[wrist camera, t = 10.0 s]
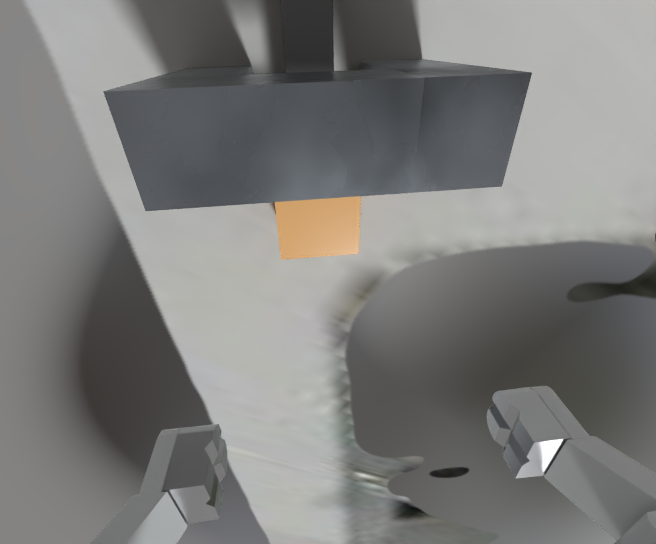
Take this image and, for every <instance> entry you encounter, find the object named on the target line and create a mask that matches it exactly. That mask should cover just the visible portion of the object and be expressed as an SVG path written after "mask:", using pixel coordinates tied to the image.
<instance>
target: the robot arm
mask: <svg viewBox="0 0 656 544" xmlns="http://www.w3.org/2000/svg"><path fill="white" fill-rule="evenodd" d="M492 400H493V401H494V403H495V404H494V405H492V406H491V407H490V408H489V409H488V412H487V424H488V427H489V430H490V433H491V434H492V436H493V438H494V440H495V441H496V442H497V443H499V444H500V445H502V446H503V447H504V448H503V457H504V459H505V460H506V462H507V464H508V466H509V467H510V470H511V471H512V473H513V475H514V477H515V478H524V477H533V476H543V475H545V476H544V478H546V479H547V480H548V481H549V482H550V483H551V484H552V485H554V486H555V487H556V488H557V489H558V490H559V491H561V492H562V493H563V494H564V495H565V496H566V497H567V498H568V499H570V500H571V501H572V502H573V503H574V504H575V505H576V506H578V507H579V508H580V509H581V510H582V511H583V512H584V513H586V514H587V515H588V516H589V517H590V518H591V519H592V520H594V521H595V522H596V523H597V524H598V525H600V527H602V528H603V529H604V530H605V531H606V532H607V533H608V534H610V535H611V536H612V537H613V538H614V539H615V540H617V541H616V542H615V543H614V544H656V474H655V473H654V472H652V471H651V470H649V469H647V468H646V467H644V466H642V465H641V464H639V463H638V462H636V461H634V460H632V459H631V458H629V457H628V456H626V455H625V454H623V453H621V452H620V451H618V450H617V449H615V448H613V447H611V446H610V445H608V444H607V443H605V442H603V441H602V440H600V439H599V438H597V437H595V436H591V437H590V436H589V435H588V434H587V432H586V431H585V430H584V429H583V427H582V426H581V425H580V424H579V422H577V420H576V419H575V418H574V416H573V415H572V414H571V413H570V411H569V410H568V409H567V408H566V407H565V405H564V404H563V403H562V401H561V400H560V399H559V398H558V396H557V395H556V394H555V393H554V391H553V390H552V389H551V388H549V387H548V386H538V387H530V388H528V387H527V388H520V389H511V390H504V391H498V392H496V393H494V396H493V398H492ZM220 437H221V429H220V426H219V424H215V425H206V426H197V427H188V428H176V429H168V430H162V431H161V433H160V434H159V436H158V438H157V441H156V444H155V447H154V450H153V453H152V456H151V459H150V462H149V465H148V468H147V471H146V474H145V478H144V480H143V484H142V486H141V490H140V493H139V495H134V496H132V497H131V499H130V500H129V501H128V502H127V503H126V504H125V505H124V506H123V507H122V509H121V510H120V511H119V512H118V513H117V514H116V515H115V517H114V518H113V519H112V520H111V521H110V522H109V523H108V524H107V525H106V527H105V528H104V529H103V530H102V531H101V532H100V533H99V535H98V536H97V537H96V538H95V539H94V540H93V541H92V542H91V544H177V542H178V541H179V539H180V537H181V536H182V534H183V533H184V531H185V529H186V528H187V524H191V523H196V522H203V521H209V520H215V519H219V518H220V512H221V505H222V498H223V489H222V487H221V484H220V482H221V480H222V479H223V478H224V476H225V475H226V468H227V447H226V443H225V440H224V439H222V438H220Z"/></svg>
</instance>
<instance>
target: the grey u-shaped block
mask: <svg viewBox="0 0 656 544" xmlns="http://www.w3.org/2000/svg"><path fill="white" fill-rule="evenodd" d="M531 74H532V73H530V72H522V71H514V70H506V69H498V68H490V67H482V66H474V65H466V64H458V63H450V62H441V61H433V60H425V59H414V60H389V61H364V62H362V70H345V71H320V72H296V73H272V74H253V71H252V66H237V67H212V68H187V69H183V70H179V71H175V72H172V73H168V74H164V75H161V76H157V77H154V78H150V79H146V80H143V81H139V82H136V83H132V84H128V85H125V86H121V87H118V88H114V89H110V90H107V91H103V92H104V94H105V97H106V100H107V103H108V106H109V109H110V111H111V114H112V117H113V120H114V123H115V125H116V128H117V131H118V134H119V137H120V140H121V142H122V145H123V148H124V151H125V154H126V157H127V159H128V162H129V165H130V168H131V171H132V174H133V176H134V179H135V182H136V185H137V188H138V191H139V193H140V196H141V199H142V202H143V205H144V208H145V210H146V211H154V210H168V209H183V208H197V207H211V206H226V205H240V204H255V203H269V202H283V201H298V200H312V199H327V198H341V197H356V196H370V195H384V194H399V193H413V192H428V191H442V190H456V189H471V188H485V187H500V186H502V184H503V180H504V176H505V172H506V169H507V165H508V161H509V157H510V153H511V150H512V146H513V142H514V138H515V135H516V131H517V127H518V123H519V120H520V116H521V112H522V108H523V104H524V101H525V97H526V93H527V89H528V86H529V82H530V78H531Z"/></svg>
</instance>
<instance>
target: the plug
mask: <svg viewBox="0 0 656 544" xmlns="http://www.w3.org/2000/svg"><path fill="white" fill-rule="evenodd" d="M280 6H281V18H282V31H283V43H284V56H285V68H286V73H296V72H320V71H334V51H333V0H280ZM360 205H361V196H356V197H341V198H327V199H312V200H298V201H283V202H275V210H276V219H277V227H278V236H279V244H280V253H281V260H282V259H295V258H308V257H321V256H334V255H346V254H359V237H360Z"/></svg>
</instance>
